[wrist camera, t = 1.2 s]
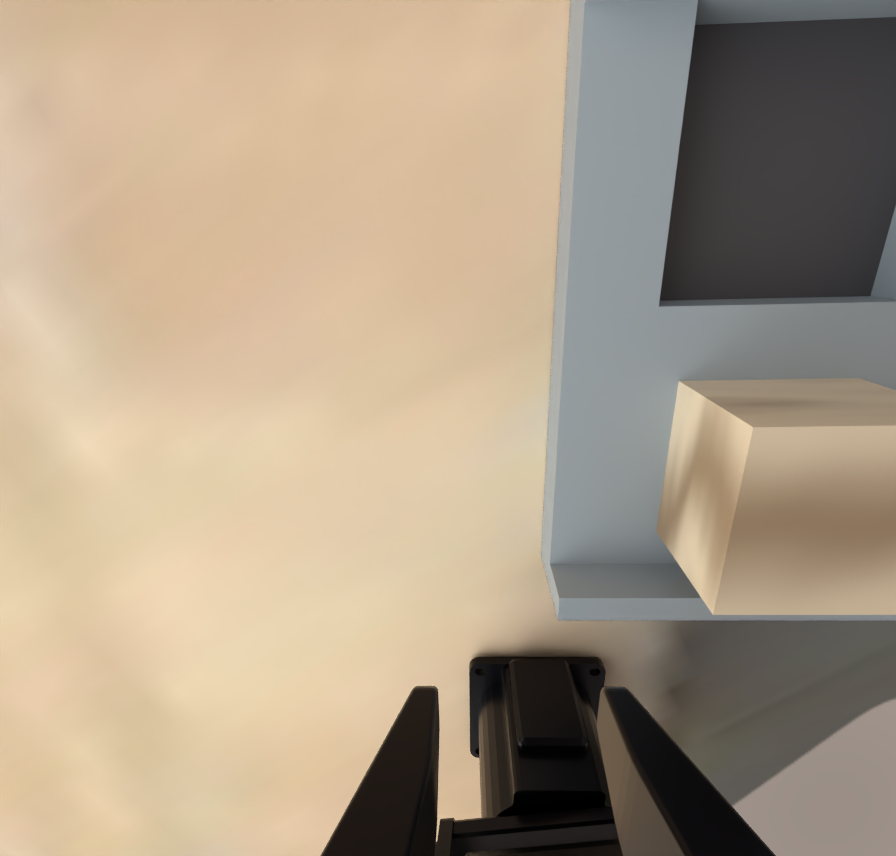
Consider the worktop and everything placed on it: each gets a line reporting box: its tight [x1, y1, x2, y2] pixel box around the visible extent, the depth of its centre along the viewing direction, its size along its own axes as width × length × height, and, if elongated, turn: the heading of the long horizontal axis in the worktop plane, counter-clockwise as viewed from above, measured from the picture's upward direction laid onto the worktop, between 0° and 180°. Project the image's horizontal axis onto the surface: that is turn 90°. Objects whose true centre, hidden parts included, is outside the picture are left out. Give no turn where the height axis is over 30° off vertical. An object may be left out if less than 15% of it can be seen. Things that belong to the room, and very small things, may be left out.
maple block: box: [656, 378, 896, 615], centre depth 15 cm, size 6×6×4 cm
